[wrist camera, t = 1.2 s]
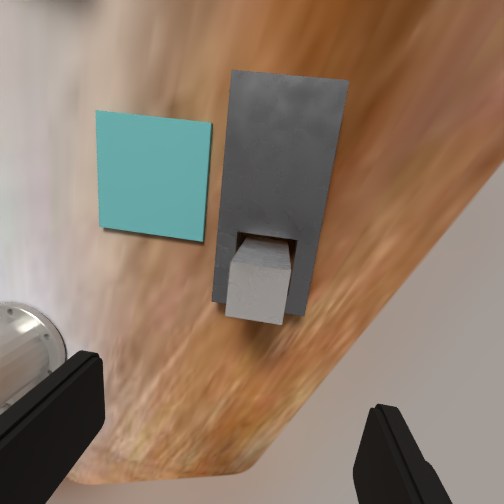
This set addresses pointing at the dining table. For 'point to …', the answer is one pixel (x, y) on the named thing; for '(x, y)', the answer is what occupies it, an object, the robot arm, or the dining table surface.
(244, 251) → the steel block
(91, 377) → the robot arm
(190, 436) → the dining table surface
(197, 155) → the mat
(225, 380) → the dining table surface
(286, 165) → the slotted plate
